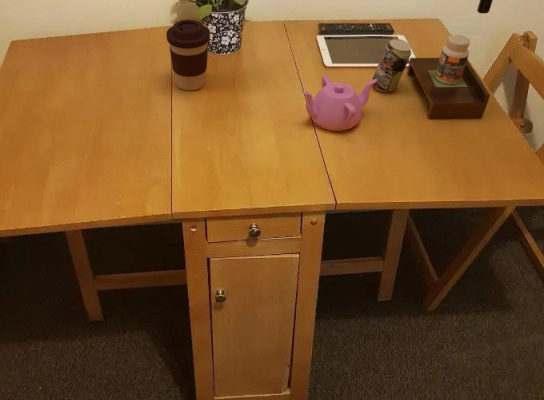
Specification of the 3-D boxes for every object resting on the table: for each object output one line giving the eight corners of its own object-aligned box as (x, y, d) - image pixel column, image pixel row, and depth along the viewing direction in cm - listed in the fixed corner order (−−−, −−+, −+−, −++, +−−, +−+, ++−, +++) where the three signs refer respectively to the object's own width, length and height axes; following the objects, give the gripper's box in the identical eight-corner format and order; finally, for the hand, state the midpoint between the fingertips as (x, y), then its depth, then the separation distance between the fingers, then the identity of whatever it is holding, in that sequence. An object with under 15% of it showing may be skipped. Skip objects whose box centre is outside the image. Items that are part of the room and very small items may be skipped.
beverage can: (370, 80, 143) (379, 35, 135) (400, 82, 142) (411, 37, 134) (371, 94, 138) (380, 48, 130) (403, 96, 138) (414, 50, 129)
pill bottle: (441, 86, 133) (453, 46, 126) (430, 73, 137) (441, 34, 130) (464, 83, 133) (477, 44, 127) (452, 71, 138) (464, 32, 131)
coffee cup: (215, 75, 144) (214, 18, 134) (205, 96, 137) (203, 38, 127) (176, 70, 146) (173, 14, 136) (164, 91, 139) (160, 33, 129)
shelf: (481, 118, 131) (490, 95, 127) (428, 119, 131) (435, 95, 126) (454, 72, 146) (461, 50, 141) (406, 72, 145) (412, 50, 141)
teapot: (297, 125, 129) (301, 91, 123) (323, 96, 138) (327, 62, 132) (347, 142, 124) (354, 107, 118) (371, 111, 133) (378, 77, 127)
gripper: (535, -67, 105) (506, 18, 115) (505, -91, 115) (481, -11, 126) (493, -67, 104) (468, 19, 115) (467, -91, 115) (447, -10, 126)
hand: (475, 3), depth 121 cm, fingers open, 8 cm apart
